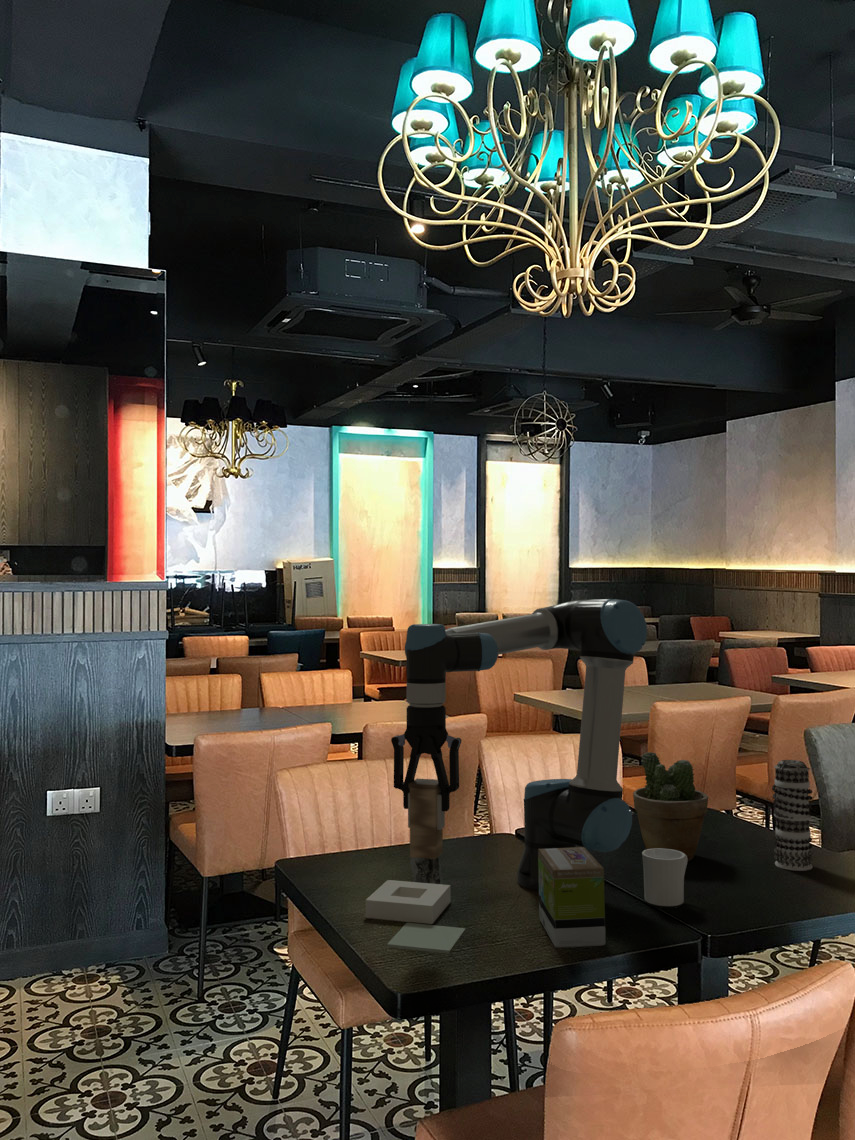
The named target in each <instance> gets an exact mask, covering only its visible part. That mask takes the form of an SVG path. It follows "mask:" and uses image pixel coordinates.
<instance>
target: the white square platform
mask: <svg viewBox="0 0 855 1140" xmlns="http://www.w3.org/2000/svg"><path fill="white" fill-rule="evenodd" d="M451 895H452V894H451V884H443V883H442V884H430V883H418V882H414V881H406V880H393V879H392V880H391V879H387V880H386V881H385V882H384V883H383V884H381V886H379V887H378V888H377V889H376V890H375V891H374V892H373V893H372V894H370V895H369V896H368V897H367V898H366V899H365V919H374V920H375V919H376V920H377V919H378V920H385V921H386V920H387V921H395V922H406V923H415V924H426V925H433V924H434V923H435V922H436V920H438V918H439V917H440V915H441V914H442V913H443V912H444V911H445V909H446V908H447V907H448V906H449V904H451V898H452V897H451Z"/></svg>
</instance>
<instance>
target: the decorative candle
mask: <svg viewBox="0 0 855 1140" xmlns="http://www.w3.org/2000/svg"><path fill="white" fill-rule="evenodd" d="M773 767H774V769H775V771H774V772H775V778H774V783H773V785H772V787H771V790H772V792H773V794H772V799H774V800H773V802H772V805H773V806H774V807H775V808H774V809H773V816H774V818H776V819H775V823H776V824H775V834H774V836H773V838H774V839H775V841H774V846H776V847H775V848H774V850H773V851H774V854H775V855H774V860H775V862H774V865H775V866H776V867H777V868H780V869H783V870H787V871H797V872H798V871H799V872H802V871H803V872H804V871H810V870H812V869H813V865H812V863H813V861H814V860H813V858H812V856H813V852H812V850H811V849H812V847H813V845H812V841H813V838H812V837H811V836H812V835H811V829H810V826H811V825H810V820H812V814H813V812H812V811H811V810H810V809H812V808H813V805H812V804H811V803H809V802H811V801H812V800H813V799H814V798H813V797H812V796H811V795H812V793H813V790H812V789H811V788H810V787H811V786H810V779H809V777H810V776H809V775H810V774H809V771H810V769H811V768H809V767H808V766H807V765H806V763H805V762H803V761H801V760H799V759H796V760H794V759H782V760H780V761H778V763H777V764H776V765H774V766H773Z"/></svg>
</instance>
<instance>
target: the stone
mask: <svg viewBox="0 0 855 1140" xmlns="http://www.w3.org/2000/svg"><path fill="white" fill-rule="evenodd" d="M409 857H410V856H409ZM409 866H410V870H411V875H412V880H413V881H412V882H418V883H430V884H442V885H443V874H442V873H443V872H442V868H441V864H440V859H439V856H438V857H437V858H436V859H427V858H414V857H410V858H409Z"/></svg>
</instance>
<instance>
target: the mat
mask: <svg viewBox="0 0 855 1140" xmlns="http://www.w3.org/2000/svg"><path fill="white" fill-rule="evenodd" d="M466 929H467V928H466V927H455V926H445V925H444V926H443V925H433V924H426V923H416V922H406V923H405V924H404V925H403V926H402V927H401V929H400V930H398V932H397V933H396V934H395V935H394V936H393V937H392V938H391V939H390V940H389V941H388V942H387V944H386V947H387V949H388V948H389V949H397V950H398V949H400V950H408V951H420V952H428V953H437V954H446V955H450V954H451V952H452V951H451V950H452V949H453V948H454V946H455V944H456V943H457V942H458V940H459V939H460V937H462V935H463V934H464V932H465V930H466Z"/></svg>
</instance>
